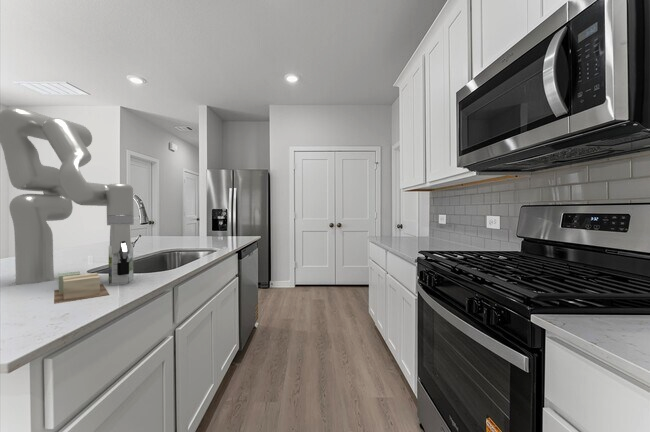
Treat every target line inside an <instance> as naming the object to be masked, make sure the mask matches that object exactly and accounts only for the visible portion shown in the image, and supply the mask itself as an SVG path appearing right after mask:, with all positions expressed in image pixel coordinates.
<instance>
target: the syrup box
mask: <svg viewBox="0 0 650 432" xmlns="http://www.w3.org/2000/svg"><path fill="white" fill-rule="evenodd" d="M127 251H128V252H129V250H127ZM121 253H122V252H121ZM120 259H121V258H120ZM128 259H129V274H126V275H118V274H117V263H118V254H115V255H112V245H110V244H109V245H108V286H113V285H115V286H116V285H127V284H130V283H131V282H133V281H134V243H131V250H130V253H129V254H128Z"/></svg>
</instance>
